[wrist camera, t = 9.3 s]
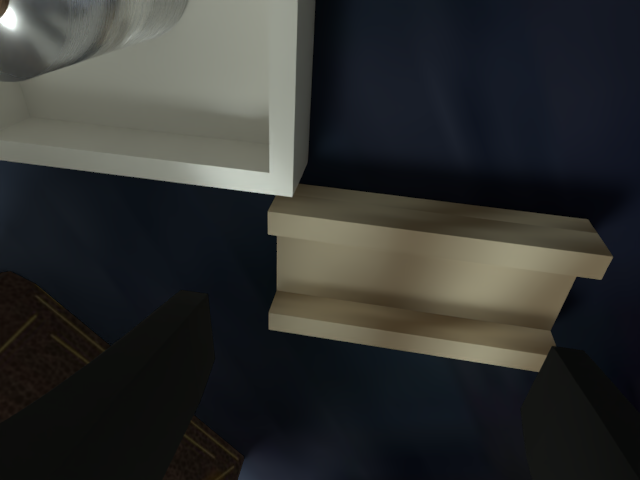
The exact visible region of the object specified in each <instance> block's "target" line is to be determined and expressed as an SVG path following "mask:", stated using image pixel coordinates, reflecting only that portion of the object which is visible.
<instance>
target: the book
mask: <svg viewBox="0 0 640 480" xmlns="http://www.w3.org/2000/svg"><path fill="white" fill-rule="evenodd" d="M109 347H110V345H109V344H107V343H106V342H105V341H104V340H103V339H101V338H100V337H99V336H98V335H97V334H95V333H94V332H93V331H92V330H91V329H89V328H88V327H87V326H86V325H85V324H83V323H82V322H81V321H80V320H79V319H77V318H76V317H75V316H74V315H72V314H71V313H70V312H69V311H68V310H66V309H65V308H64V307H63V306H62V305H60V304H59V303H58V302H57V301H56V300H54V299H53V298H52V297H51V296H50V295H48V294H47V293H46V292H45V291H43V290H42V289H41V288H40V287H39V286H37V285H36V284H35V283H33V282H31V281H29V280H27V279H25V278H23V277H21V276H19V275H17V274H15V273H13V272H11V271H9V272H2V273H0V423H1V422H3V421H5V420H6V419H8V418H10V417H11V416H13V415H14V414H16V413H17V412H19V411H21V410H22V409H24V408H25V407H27V406H28V405H30V404H31V403H33V402H34V401H36V400H37V399H39V398H40V397H42V396H43V395H45V394H46V393H48V392H49V391H51V390H52V389H53V388H55V387H56V386H57V385H59V384H60V383H62V382H63V381H64V380H66V379H67V378H69V377H70V376H71V375H73V374H74V373H76V372H77V371H78V370H80V369H81V368H83V367H84V366H85V365H87V364H88V363H90V362H91V361H92V360H94V359H95V358H96V357H97V356H99V355H100V354H101V353H103V352H104V351H105V350H106V349H108V348H109ZM243 461H244V456H243V455H242V454H240V453H239V452H238V451H237V450H236V449H234V448H233V447H232V446H231V445H229V444H228V443H227V442H226V441H225V440H223V439H222V438H221V437H220V436H219V435H217V434H216V433H215V432H214V431H213V430H211V429H210V428H209V427H208V426H207V425H205V424H204V423H203V422H202V421H201V420H199V419H198V418H197V417H196V416H194V415H193V418H192V420H191V422H190V424H189V426H188V428H187V430H186V432H185V434H184V436H183V438H182V440H181V442H180V445H179V447H178V449H177V451H176V453H175V455H174V457H173V459H172V461H171V463H170V465H169V467H168V469H167V471H166V473H165V475H164V477H163V479H162V480H238V477H239V474H240V471H241V467H242V464H243Z"/></svg>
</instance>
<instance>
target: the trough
mask: <svg viewBox="0 0 640 480" xmlns="http://www.w3.org/2000/svg"><path fill="white" fill-rule="evenodd" d="M268 235H275V236H277V291H276V294H275V297H274V299H273V302H272V305H271V307H270V310H269V330H275V331H281V332H287V333H294V334H300V335H306V336H313V337H319V338H326V339H332V340H338V341H345V342H351V343H358V344H364V345H370V346H377V347H383V348H390V349H396V350H402V351H409V352H415V353H421V354H428V355H434V356H441V357H447V358H453V359H460V360H466V361H473V362H479V363H485V364H492V365H498V366H505V367H511V368H517V369H524V370H530V371H536V372H539V371H540V369H541V367H542V365H543V363H544V361H545V359H546V357H547V355H548V353H549V351H550V349H551V347H552V346H556V345H555V342H554V339H553V337H552V334H551V331H550V330H551V328H552V326H553V324H554V322H555V320H556V318H557V316H558V314H559V312H560V310H561V307H562V305H563V303H564V301H565V299H566V297H567V295H568V293H569V291H570V289H571V287H572V285H573V283H574V281H575V278H576V276H577V277H585V278H592V279H599V280H601V279H602V277H603V275H604V273H605V271H606V269H607V268H608V266H609V264H610V262H611V260H612V258H613V256H612V254H611V253H610V251H609V250H608V248H607V247H606V245H605V244H604V242H603V241H602V239H601V238H600V236H599V235H598V233H597V232H596V231H595V229H594V228H593V226H592V225H591V223H590V222H589V220H588V219H581V218H573V217H565V216H557V215H548V214H540V213H532V212H524V211H516V210H508V209H500V208H492V207H484V206H476V205H468V204H460V203H451V202H443V201H435V200H427V199H419V198H411V197H403V196H395V195H387V194H379V193H371V192H363V191H355V190H346V189H338V188H330V187H322V186H314V185H306V184H298V186H297V188H296V190H295V193H294V195H293V197H287V196H279V195H276V196H275V198H274V200H273V202H272V204H271V206H270V208H269V210H268Z"/></svg>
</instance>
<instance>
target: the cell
mask: <svg viewBox="0 0 640 480" xmlns="http://www.w3.org/2000/svg"><path fill="white" fill-rule="evenodd" d="M187 2H188V0H0V81H2V82H18V81H24V80H28V79H31V78H34V77H37V76H40V75H43V74H46V73H49V72H52V71H55V70H58V69H61V68H64V67H67V66H70V65H73V64H76V63H79V62H82V61H85V60H88V59H92V58H95V57H98V56H101V55H104V54H107V53H110V52H113V51H116V50H119V49H122V48H125V47H128V46H131V45H134V44H137V43H140V42H143V41H146V40H149V39H152V38H156V37H159V36H161V35H163V34H165V33H167V32H168V31H169V30H171V29H172V28H173V27H174V26H175V25H176V24H177V23H178V21H179V20H180V18H181V17H182V15H183V13H184V11H185V8H186V5H187Z"/></svg>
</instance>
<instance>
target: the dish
mask: <svg viewBox="0 0 640 480" xmlns="http://www.w3.org/2000/svg"><path fill="white" fill-rule="evenodd" d="M314 21H315V0H188V2H187V5H186V8H185V11H184V13H183V15H182V17H181V18H180V20H179V21H178V23H177V24H176V25H175V26H174V27H173V28H172V29H171V30H169V31H168V32H167V33H165V34H163V35H161V36H159V37H156V38H152V39H149V40H146V41H143V42H140V43H137V44H134V45H131V46H128V47H125V48H122V49H119V50H116V51H113V52H110V53H107V54H104V55H101V56H98V57H95V58H92V59H88V60H85V61H82V62H79V63H76V64H73V65H70V66H67V67H64V68H61V69H58V70H55V71H52V72H49V73H46V74H43V75H40V76H37V77H34V78H31V79H28V80H24V81H18V82H2V81H0V160H3V161H11V162H19V163H27V164H35V165H42V166H50V167H58V168H66V169H74V170H82V171H90V172H98V173H106V174H113V175H121V176H129V177H137V178H145V179H153V180H161V181H169V182H176V183H184V184H192V185H200V186H208V187H216V188H224V189H232V190H240V191H247V192H255V193H263V194H271V195H279V196H287V197H293V195H294V193H295V190H296V188H297V186H298V183H299V181H300V179H301V177H302V174H303V172H304V170H305V168H306V165H307V163H308V150H309V129H310V107H311V86H312V64H313V43H314Z"/></svg>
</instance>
